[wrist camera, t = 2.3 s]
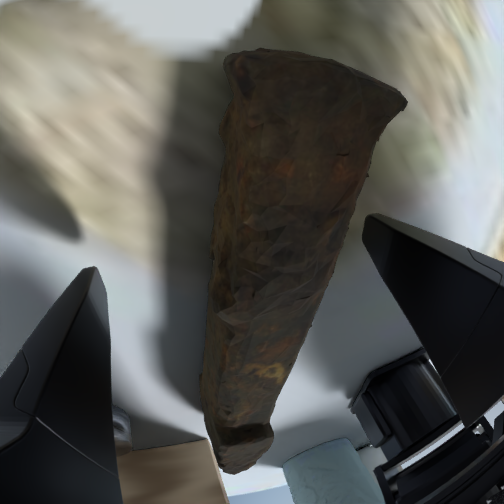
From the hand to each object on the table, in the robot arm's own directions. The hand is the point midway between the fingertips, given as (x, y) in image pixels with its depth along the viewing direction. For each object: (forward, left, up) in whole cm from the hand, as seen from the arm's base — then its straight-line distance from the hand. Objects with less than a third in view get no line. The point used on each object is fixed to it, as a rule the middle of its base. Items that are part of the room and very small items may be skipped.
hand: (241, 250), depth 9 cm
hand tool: (0, +4, -2) cm, 4 cm away
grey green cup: (-8, +33, -1) cm, 33 cm away
